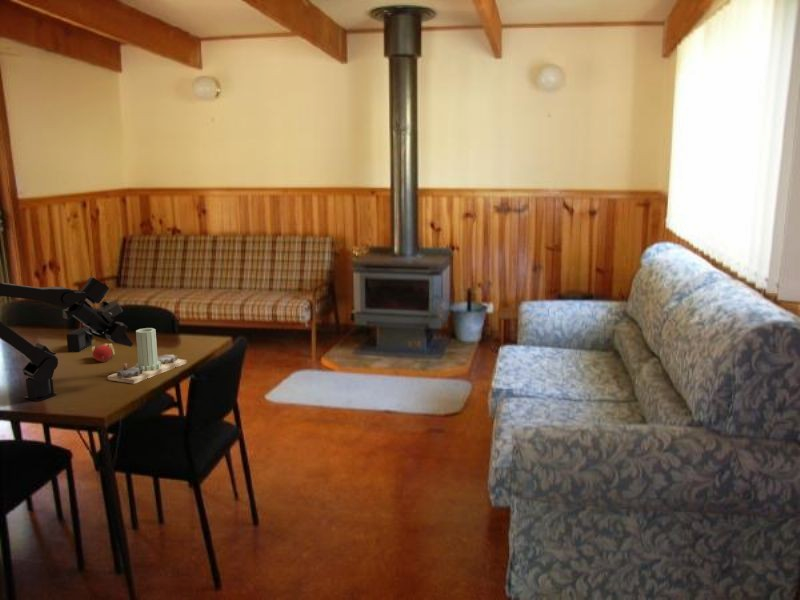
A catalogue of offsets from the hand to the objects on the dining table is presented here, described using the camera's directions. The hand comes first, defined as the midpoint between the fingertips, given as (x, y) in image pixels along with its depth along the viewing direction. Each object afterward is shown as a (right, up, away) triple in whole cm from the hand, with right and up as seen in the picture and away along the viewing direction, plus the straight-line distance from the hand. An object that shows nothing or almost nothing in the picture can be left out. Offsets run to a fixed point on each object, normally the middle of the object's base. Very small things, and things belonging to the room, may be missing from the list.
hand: (124, 342), depth 220 cm
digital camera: (-31, -5, +37) cm, 48 cm away
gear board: (+5, -10, +8) cm, 14 cm away
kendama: (-18, -7, +25) cm, 32 cm away
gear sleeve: (+5, -9, +8) cm, 13 cm away
